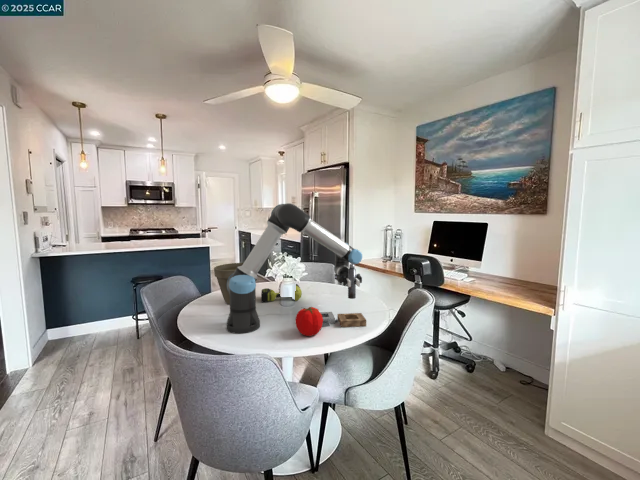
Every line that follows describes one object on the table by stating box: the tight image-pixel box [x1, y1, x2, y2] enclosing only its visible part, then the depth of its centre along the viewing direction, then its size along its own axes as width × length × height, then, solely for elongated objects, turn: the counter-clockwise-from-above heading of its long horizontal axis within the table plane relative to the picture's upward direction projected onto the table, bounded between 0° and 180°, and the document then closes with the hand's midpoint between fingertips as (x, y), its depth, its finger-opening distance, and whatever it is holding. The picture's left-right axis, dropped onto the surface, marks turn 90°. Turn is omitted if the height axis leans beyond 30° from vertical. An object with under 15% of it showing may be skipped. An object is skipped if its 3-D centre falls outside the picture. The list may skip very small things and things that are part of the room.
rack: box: [336, 312, 367, 328], centre depth 143 cm, size 12×10×3 cm
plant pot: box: [213, 262, 244, 305], centre depth 177 cm, size 25×25×22 cm
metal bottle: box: [347, 263, 357, 300], centre depth 141 cm, size 4×4×16 cm
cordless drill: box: [260, 283, 303, 303], centre depth 189 cm, size 7×25×25 cm
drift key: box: [322, 323, 331, 328], centre depth 139 cm, size 8×2×1 cm, turn 111°
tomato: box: [295, 306, 323, 337], centre depth 131 cm, size 12×13×12 cm
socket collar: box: [319, 311, 336, 325], centre depth 147 cm, size 10×10×2 cm
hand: (354, 283), depth 136 cm, fingers closed on metal bottle, 4 cm apart
